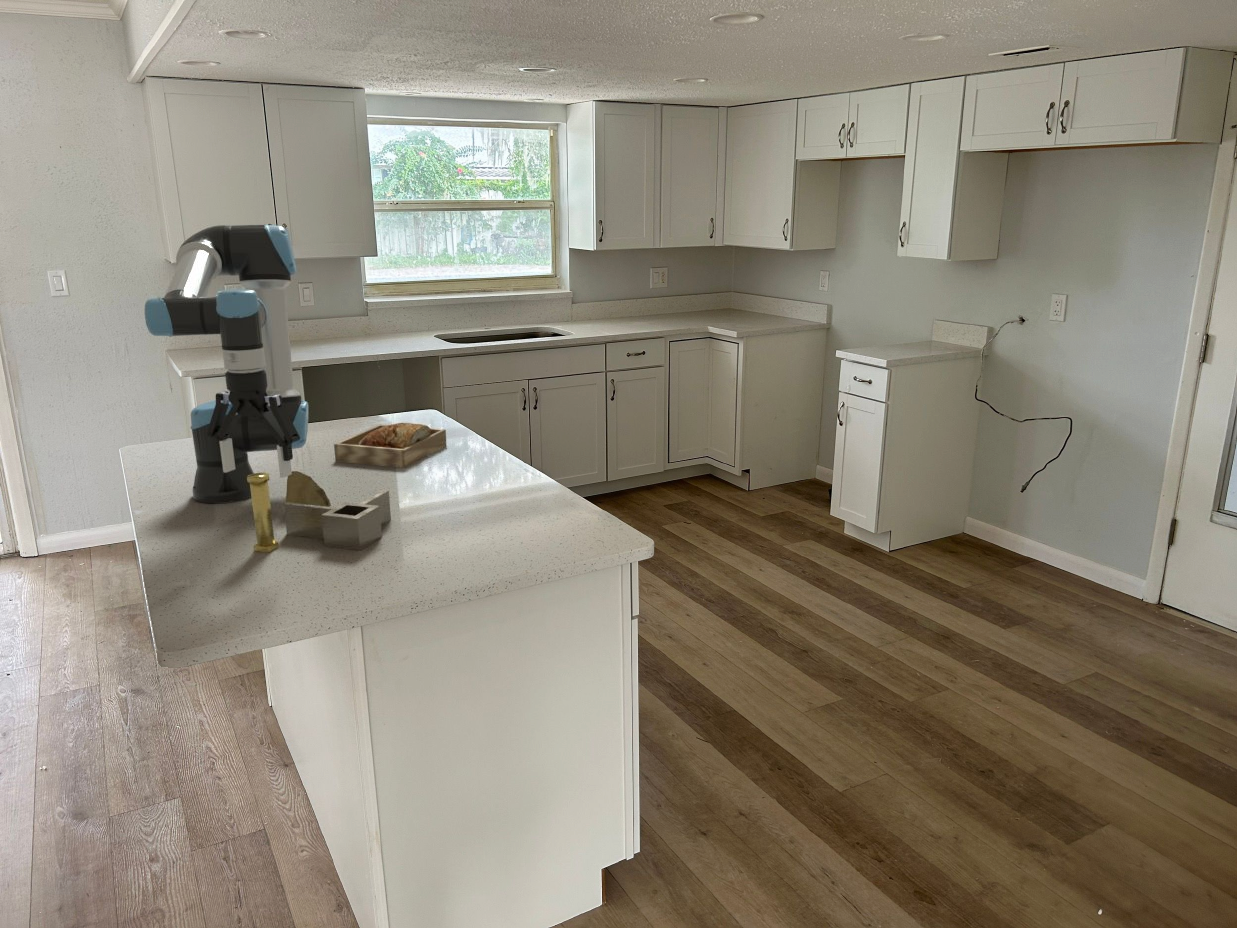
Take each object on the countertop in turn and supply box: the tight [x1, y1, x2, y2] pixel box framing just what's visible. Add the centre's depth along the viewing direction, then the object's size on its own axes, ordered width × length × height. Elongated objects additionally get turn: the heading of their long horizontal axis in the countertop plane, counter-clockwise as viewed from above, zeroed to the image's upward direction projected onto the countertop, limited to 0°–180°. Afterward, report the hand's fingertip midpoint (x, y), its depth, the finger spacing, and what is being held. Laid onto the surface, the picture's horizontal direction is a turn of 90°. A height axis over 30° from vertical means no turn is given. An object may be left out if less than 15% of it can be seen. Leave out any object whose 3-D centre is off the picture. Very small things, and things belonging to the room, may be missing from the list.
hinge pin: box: [247, 472, 280, 554], centre depth 183 cm, size 4×4×16 cm
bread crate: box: [333, 424, 448, 469], centre depth 255 cm, size 22×24×5 cm
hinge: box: [283, 489, 392, 551], centre depth 195 cm, size 20×18×7 cm
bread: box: [358, 422, 431, 449], centre depth 254 cm, size 20×18×10 cm
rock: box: [285, 470, 332, 507], centre depth 207 cm, size 11×9×10 cm
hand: (257, 473), depth 180 cm, fingers open, 13 cm apart
